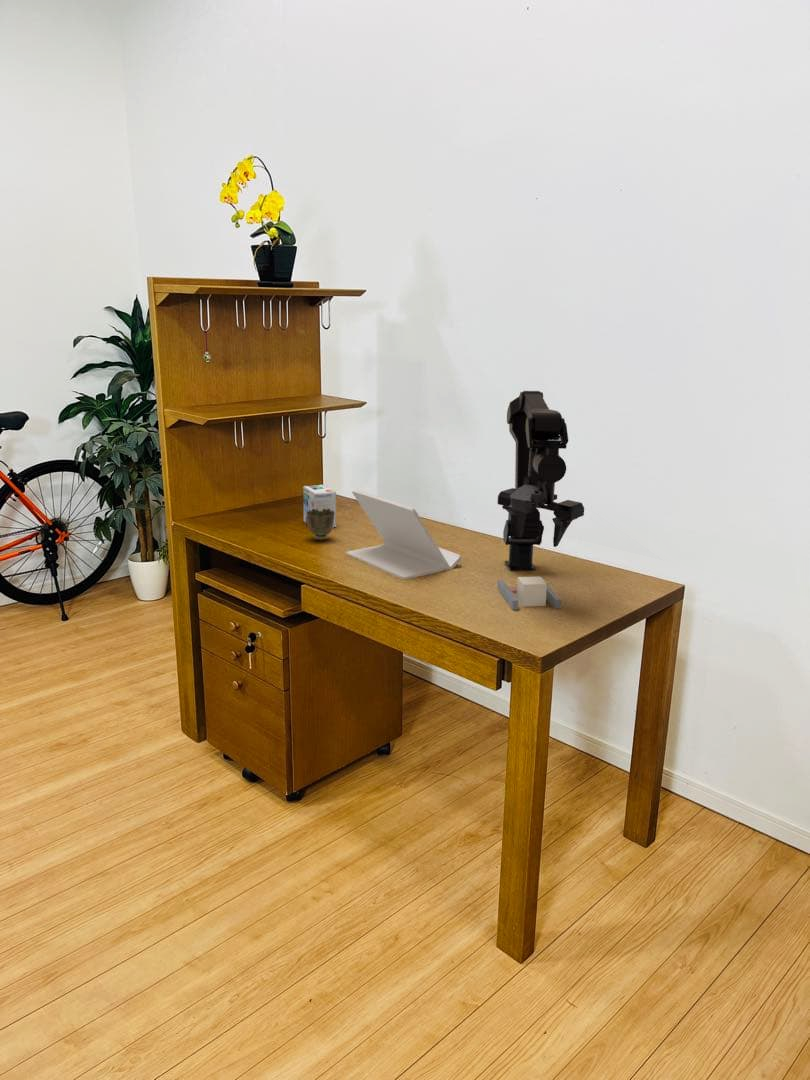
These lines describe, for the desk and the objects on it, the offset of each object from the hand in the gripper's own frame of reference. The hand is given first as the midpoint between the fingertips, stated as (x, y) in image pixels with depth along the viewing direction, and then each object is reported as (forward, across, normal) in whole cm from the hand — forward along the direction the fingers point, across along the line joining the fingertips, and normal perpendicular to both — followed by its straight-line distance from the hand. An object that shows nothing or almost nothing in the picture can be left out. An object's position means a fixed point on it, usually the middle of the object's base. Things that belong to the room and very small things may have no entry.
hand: (537, 541), depth 178 cm
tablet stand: (+13, -38, -2) cm, 40 cm away
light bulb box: (+14, -78, +6) cm, 80 cm away
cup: (+14, -66, -4) cm, 68 cm away
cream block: (+12, +2, -5) cm, 13 cm away
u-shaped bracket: (+12, +1, -3) cm, 12 cm away
